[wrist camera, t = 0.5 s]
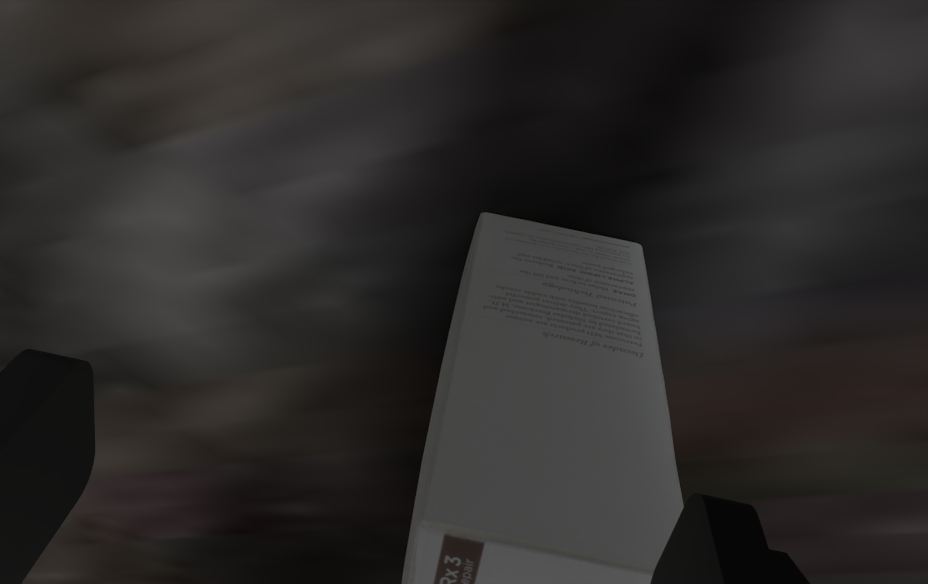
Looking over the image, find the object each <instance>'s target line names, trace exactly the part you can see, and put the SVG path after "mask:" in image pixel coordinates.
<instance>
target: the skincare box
mask: <svg viewBox="0 0 928 584" xmlns="http://www.w3.org/2000/svg"><path fill="white" fill-rule="evenodd" d="M683 508H684V506H683V501H682V496H681V490H680V485H679V479H678V474H677V468H676V462H675V455H674V447H673V440H672V433H671V424H670V417H669V410H668V404H667V398H666V391H665V383H664V377H663V372H662V366H661V361H660V354H659V347H658V341H657V334H656V328H655V323H654V315H653V310H652V303H651V297H650V291H649V285H648V278H647V272H646V266H645V260H644V255H643V249H642V246H641V245H640V244H638V243H634V242H629V241H625V240H620V239H615V238H611V237H606V236H601V235H596V234H590V233H586V232H581V231H576V230H571V229H566V228H561V227H557V226H552V225H547V224H542V223H537V222H533V221H528V220H523V219H518V218H513V217H507V216H503V215H498V214H493V213H487V212H484V213H481V214H480V216H479V219H478V222H477V225H476V228H475V231H474V235H473V238H472V242H471V245H470V249H469V252H468V256H467V260H466V263H465V267H464V271H463V275H462V279H461V283H460V287H459V291H458V295H457V299H456V304H455V308H454V313H453V317H452V321H451V326H450V330H449V335H448V339H447V344H446V348H445V353H444V357H443V361H442V366H441V371H440V376H439V380H438V385H437V390H436V395H435V400H434V405H433V409H432V414H431V419H430V424H429V429H428V434H427V439H426V444H425V448H424V453H423V458H422V463H421V469H420V475H419V481H418V487H417V493H416V498H415V504H414V510H413V516H412V522H411V528H410V533H409V539H408V545H407V551H406V557H405V563H404V570H403V577H402V583H401V584H651V579H652V576H653V573H654V570H655V567H656V565H657V563H658V561H659V559H660V557H661V555H662V553H663V550H664V548H665V546H666V544H667V542H668V540H669V538H670V535H671V533H672V531H673V529H674V527H675V525H676V523H677V521H678V518H679V516H680V514H681V512H682V510H683Z"/></svg>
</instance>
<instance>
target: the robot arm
mask: <svg viewBox="0 0 928 584" xmlns="http://www.w3.org/2000/svg"><path fill="white" fill-rule="evenodd" d="M94 456H95V424H94V387H93V371H92V367H91V365H90V363H89V362H87V361H84V360H80V359H75V358H70V357H65V356H61V355H56V354H51V353H47V352H42V351H37V350H33V349H27V350H24V351H22V352H21V353H19V354H18V355H17V356H16V357H15V358H14V359H13V360H12V361H11V362H10V363H9V364H8V365H7V366H6V367H5V368H4V369H3V370H2V371H1V372H0V584H21V583H22V582H23V580H24V579H25V577H26V576H27V574H28V573H29V571H30V570H31V568H32V567H33V565H34V564H35V562H36V561H37V560H38V558H39V557H40V555H41V554H42V552H43V551H44V549H45V548H46V546H47V545H48V543H49V542H50V541H51V539H52V538H53V536H54V535H55V533H56V532H57V530H58V529H59V527H60V526H61V524H62V523H63V521H64V520H65V519H66V517H67V516H68V514H69V513H70V511H71V510H72V508H73V507H74V505H75V504H76V502H77V501H78V500H79V498H80V496H81V495H82V493H83V491H84V489H85V487H86V485H87V482H88V480H89V477H90V474H91V471H92V467H93V462H94ZM651 584H810V583H809V582H808V580H807V579H806V578H805V577H804V575H803V574H802V573H801V571H800V570H799V569H798V567H797V566H796V565H795V563H794V562H793V561H792V559H791V558H790V557H789V556H788V554H787V553H784V552H780V551H775V550H770V549H769V548H768V545H767V542H766V539H765V536H764V533H763V530H762V527H761V523H760V520H759V517H758V514H757V512H756V510H755V509H754V507H753V506H752V505H749V504H745V503H740V502H736V501H731V500H726V499H722V498H717V497H712V496H708V495H703V494H698V493H694V494H692V495H691V496H690V497H689V499H688V500H687V502H686V504H685V506H684V508H683V510H682V512H681V514H680V516H679V518H678V521H677V523H676V525H675V527H674V529H673V531H672V533H671V535H670V538H669V540H668V542H667V544H666V546H665V548H664V550H663V553H662V555H661V557H660V559H659V561H658V563H657V565H656V567H655V570H654V573H653V576H652V579H651Z"/></svg>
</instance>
